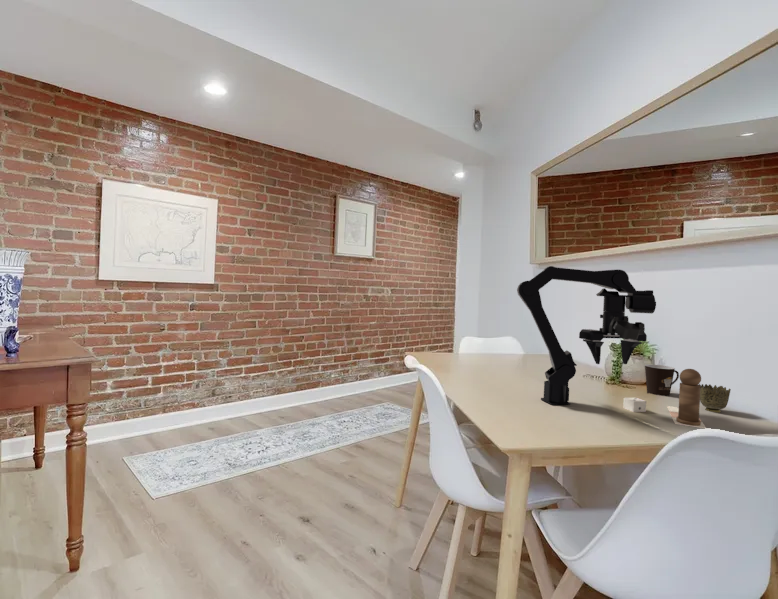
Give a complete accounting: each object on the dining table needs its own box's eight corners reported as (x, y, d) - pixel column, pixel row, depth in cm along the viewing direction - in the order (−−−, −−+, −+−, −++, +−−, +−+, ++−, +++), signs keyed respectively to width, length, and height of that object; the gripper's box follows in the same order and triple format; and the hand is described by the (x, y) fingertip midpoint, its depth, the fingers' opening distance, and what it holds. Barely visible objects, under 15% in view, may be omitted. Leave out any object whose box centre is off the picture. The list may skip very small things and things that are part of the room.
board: (709, 432, 106) (710, 429, 106) (671, 426, 109) (671, 423, 109) (696, 412, 124) (696, 409, 124) (664, 408, 128) (664, 405, 128)
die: (633, 415, 119) (634, 401, 119) (623, 411, 123) (623, 397, 123) (645, 415, 120) (646, 401, 120) (635, 411, 124) (635, 397, 124)
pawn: (681, 424, 109) (684, 370, 108) (672, 418, 114) (675, 366, 113) (704, 426, 107) (707, 371, 107) (694, 420, 113) (696, 367, 112)
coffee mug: (648, 397, 141) (650, 367, 141) (639, 391, 149) (641, 363, 149) (688, 401, 138) (689, 370, 138) (676, 394, 147) (678, 366, 147)
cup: (734, 418, 120) (736, 390, 119) (705, 416, 121) (707, 388, 121) (719, 411, 127) (721, 384, 127) (692, 409, 128) (693, 382, 128)
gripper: (604, 312, 116) (601, 369, 117) (663, 314, 120) (660, 369, 120) (579, 310, 127) (576, 362, 128) (633, 312, 131) (631, 362, 131)
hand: (611, 364), depth 126 cm, fingers open, 9 cm apart
